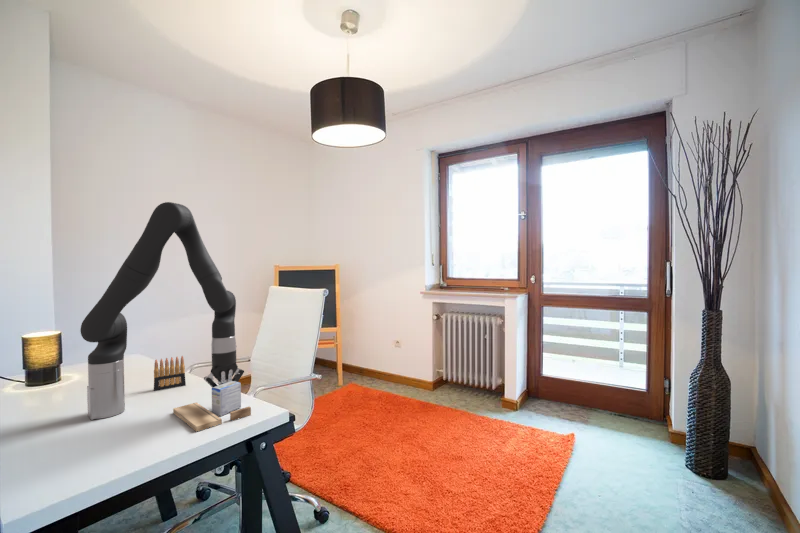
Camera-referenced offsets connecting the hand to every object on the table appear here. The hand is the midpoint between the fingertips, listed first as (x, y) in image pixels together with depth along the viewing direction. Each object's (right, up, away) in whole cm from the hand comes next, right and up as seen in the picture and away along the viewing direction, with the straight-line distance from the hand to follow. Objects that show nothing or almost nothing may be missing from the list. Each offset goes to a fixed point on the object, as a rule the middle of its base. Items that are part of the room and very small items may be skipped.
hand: (225, 400), depth 126 cm
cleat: (+9, -2, -9) cm, 13 cm away
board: (-5, -2, -9) cm, 10 cm away
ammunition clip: (-32, -3, +22) cm, 39 cm away
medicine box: (+2, -2, -4) cm, 5 cm away
